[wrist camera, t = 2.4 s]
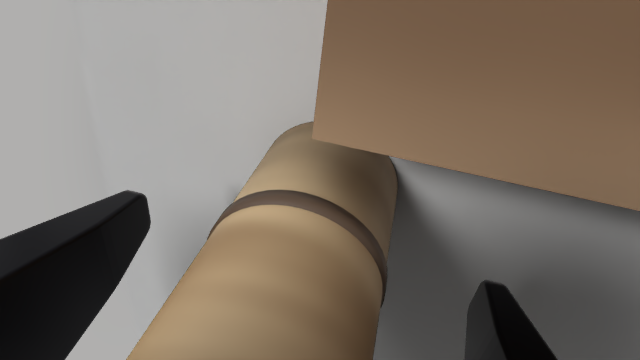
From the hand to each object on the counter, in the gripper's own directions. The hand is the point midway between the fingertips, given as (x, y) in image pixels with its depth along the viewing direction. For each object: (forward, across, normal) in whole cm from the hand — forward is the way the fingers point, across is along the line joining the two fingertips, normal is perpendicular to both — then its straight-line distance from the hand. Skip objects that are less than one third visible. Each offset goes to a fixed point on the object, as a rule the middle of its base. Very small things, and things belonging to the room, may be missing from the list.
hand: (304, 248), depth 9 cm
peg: (+2, 0, 0) cm, 2 cm away
